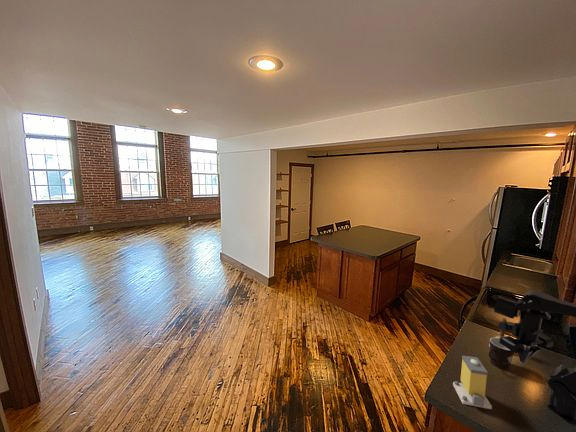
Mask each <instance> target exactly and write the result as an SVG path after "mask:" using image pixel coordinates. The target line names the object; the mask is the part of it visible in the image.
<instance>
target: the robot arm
mask: <svg viewBox="0 0 576 432" xmlns="http://www.w3.org/2000/svg"><path fill="white" fill-rule="evenodd" d="M493 308H494V309H493V312H494V313H495V314H498V315H501V316H504V317H506V318H509V319H515V318H518V317H519V320H518V322H512V321H507V322H503V321H501V320H500V321H499V322H498V324H497V327H498V329H499V330H502V331H503V332H504V333H505V332H506V333H510V334H511V335H508V336H507V335H506V336H504V337H501V338H500V340H499V343H500V344H502V345H503V346H505V347H506V348H508V349H509V350H511V351H513V352H514V354H517V355H518V358H519V362H521V363H526V362H527V361H528V360H530V359H531V358H532V357H533V356H534V355H536V354H537V353H539V352H540V351H541V350H542V348H540V347H539V346H538V345H539V344H543V343H544V346H545V347H546V348H553V347H554V344H555V342H554V340H553V339H552V338H551V337H549V336H547V335H545V334H543V333H544V330H543V329H541V327H542V323H543V319H544V320H547V321H550V319H551V318H552V315H551V314H550V313H557V314H561V315H565V316H569V317H573V318H576V303H574V302H570V301H566V300H562V299H559V298H556V297H554V296H552V295H550V294H548V293H546V292H545V293H544V292H542V291H539V290H533V289H532V290H528V291H527V292H526V293H525V294H524V295H523V297H522V298H521V299H517V301H515V300H511V299H508V298H506V297H503V296H500V295H499V296H498V297H497V300H496V302H495V305H494V307H493ZM519 315H520V316H519ZM512 336H513V337H512ZM547 384H548V386H549V388H550V389H551V390H552V392H551V393H550V398H549V401H548V402H549V404H547V405H546V407H547V408H548V409H550V410H551V411H553V412H554V413H555V414H557V415H558V417H561V419H563V420H564V421H566V422H567V423H569V424H570V423H574V422H575V423H576V366H575V367H572V368H571V367H566V366H565V364H564V363H561V364H560V365H559V366H557V367H552V368H551V370H550V374H549V376H548V380H547Z"/></svg>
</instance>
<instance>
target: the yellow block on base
mask: <svg viewBox="0 0 576 432" xmlns="http://www.w3.org/2000/svg"><path fill="white" fill-rule="evenodd" d="M461 359H462V361H461V371H460V372H461V373H460V383H461V382H462V383H463V385H464V387H465V389H466V391H467V392H468V394H469V395H472V396H473V394H476V395H482V396H483V397H485V396H486V386H487V378H488V375H489V372H488V371H487V369H486V367H485V366H484V365H483V363H482V362H481V360H480V359H479V358H478V357H477V356H469V355H462V356H461Z"/></svg>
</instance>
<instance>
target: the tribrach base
mask: <svg viewBox="0 0 576 432" xmlns="http://www.w3.org/2000/svg"><path fill="white" fill-rule="evenodd" d="M452 386H453V387H454V389H455V392H456V393H457V395H458V398H459V400H460V401H461V403H462V405H468V406H471V407H472V406H473V407H477V408H483V409H488V410H492V409H493V406H492V404H491V403H490V401H489V400H488V398H487V396H486V395H485V397H483V396H482V395H476V394H473V396H472V395H469V394H468V392H467V391H466V389H465V387H464V385H463V383H462V382H461V381H460V382H459V381H458V380H454V381H453V383H452Z"/></svg>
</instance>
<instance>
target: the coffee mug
mask: <svg viewBox="0 0 576 432" xmlns="http://www.w3.org/2000/svg"><path fill="white" fill-rule="evenodd" d="M499 340H500V338H495V337H491V338H489V344H490V347H489V352H488V357H489V359H490V360H489V361H490V364H491V365H493V366H494V367H495V368H497V369H500V370H503V371H504V370H505V371H507V370H509V369H510V367H511V364H512V361H513V359H514V358H513V357H514V354H515V353H514V352H513V351H511V350H509V349H508V348H506V347H505V346H503V345H502V344H500V343H499Z"/></svg>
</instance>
